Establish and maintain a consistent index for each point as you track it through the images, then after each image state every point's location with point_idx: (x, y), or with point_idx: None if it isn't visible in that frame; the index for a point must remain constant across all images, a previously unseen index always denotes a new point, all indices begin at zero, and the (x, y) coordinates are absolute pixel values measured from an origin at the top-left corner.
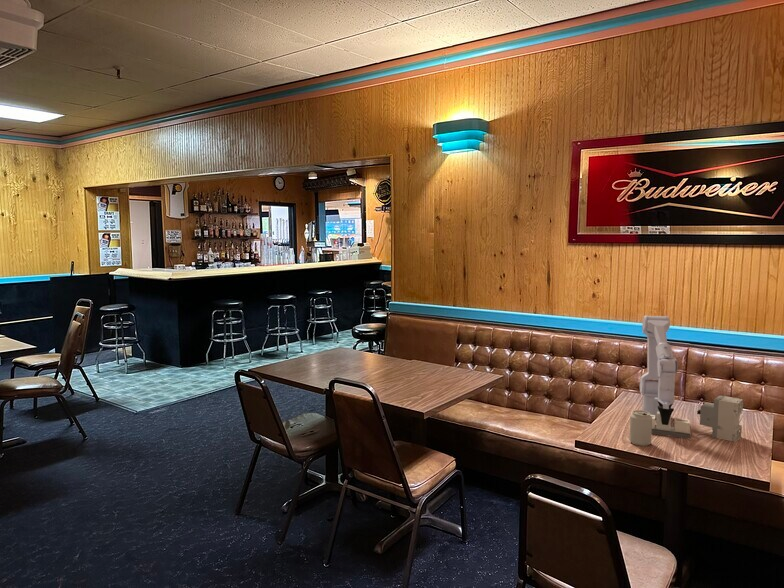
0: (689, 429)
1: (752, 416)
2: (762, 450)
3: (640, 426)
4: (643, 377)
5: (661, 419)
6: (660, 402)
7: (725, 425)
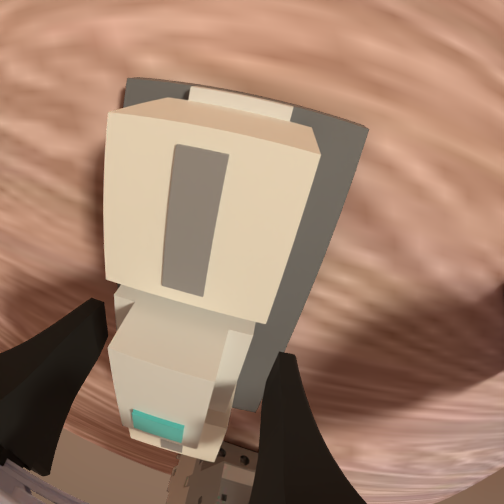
0: (249, 410)
1: (422, 498)
2: (135, 460)
3: None
4: None
5: (57, 323)
6: None
7: (177, 495)
